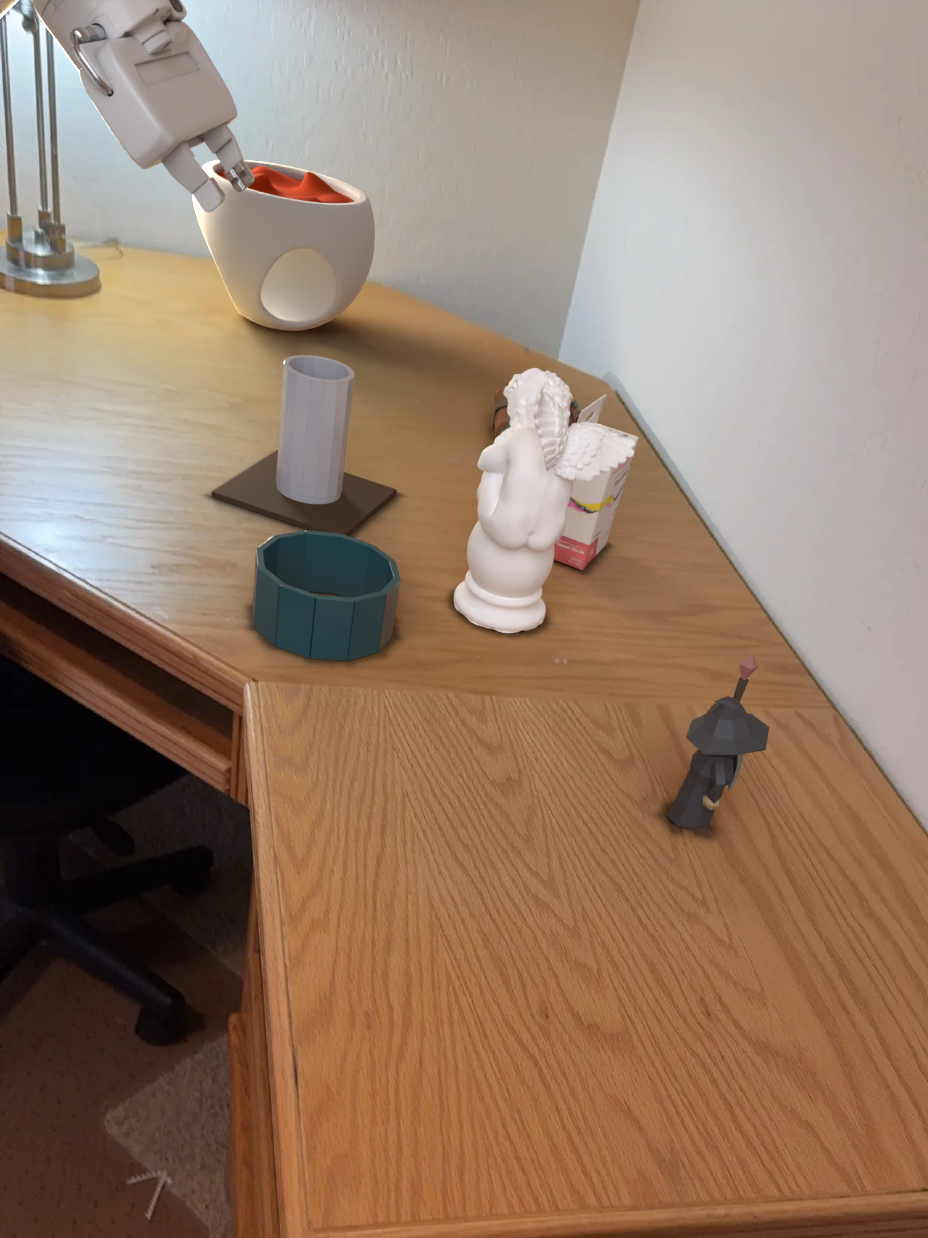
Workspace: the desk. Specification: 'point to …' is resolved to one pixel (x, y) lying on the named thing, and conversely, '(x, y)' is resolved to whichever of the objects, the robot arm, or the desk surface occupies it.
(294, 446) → the cup
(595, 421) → the ink cartridge box
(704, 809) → the wizard figurine
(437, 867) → the desk surface
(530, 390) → the cherub figurine
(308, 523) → the mat
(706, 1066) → the desk surface
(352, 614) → the teal faceted ring
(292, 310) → the pot
